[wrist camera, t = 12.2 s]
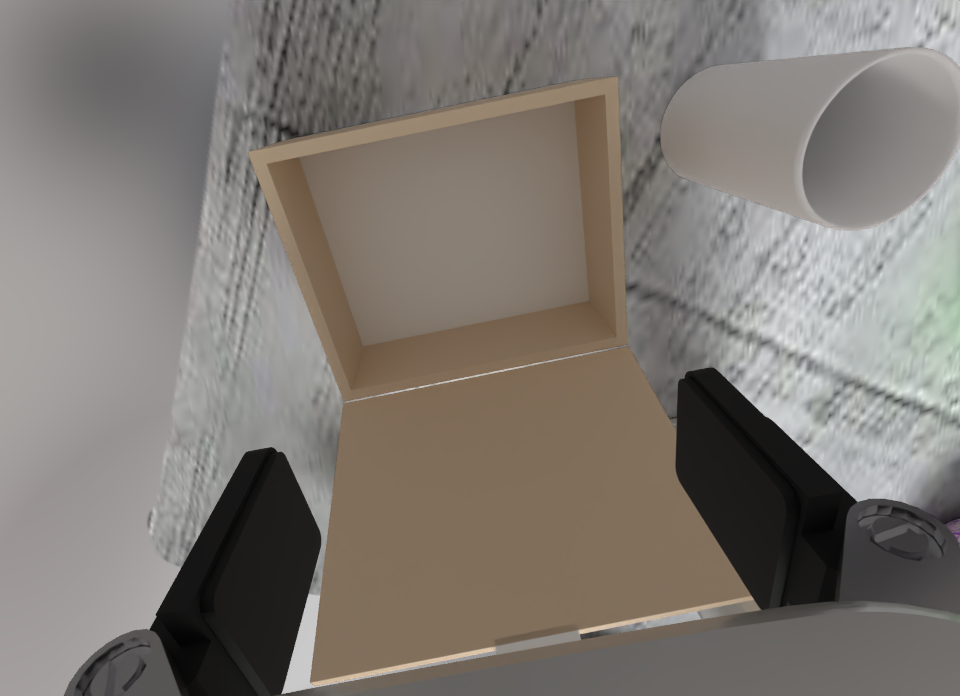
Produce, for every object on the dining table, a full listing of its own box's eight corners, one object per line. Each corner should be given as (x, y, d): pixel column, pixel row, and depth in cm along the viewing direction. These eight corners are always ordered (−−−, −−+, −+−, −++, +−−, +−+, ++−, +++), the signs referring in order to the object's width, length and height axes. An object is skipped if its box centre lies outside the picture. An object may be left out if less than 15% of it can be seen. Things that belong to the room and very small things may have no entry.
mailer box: (580, 79, 35) (618, 76, 28) (595, 303, 43) (627, 344, 36) (284, 140, 35) (247, 152, 28) (358, 351, 44) (343, 401, 37)
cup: (682, 54, 35) (853, 28, 21) (782, 76, 36) (1007, 66, 22) (645, 172, 38) (769, 219, 24) (737, 189, 40) (906, 241, 26)
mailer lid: (776, 613, 22) (772, 619, 22) (628, 346, 36) (628, 353, 37) (307, 705, 22) (312, 709, 23) (343, 403, 36) (346, 409, 37)
